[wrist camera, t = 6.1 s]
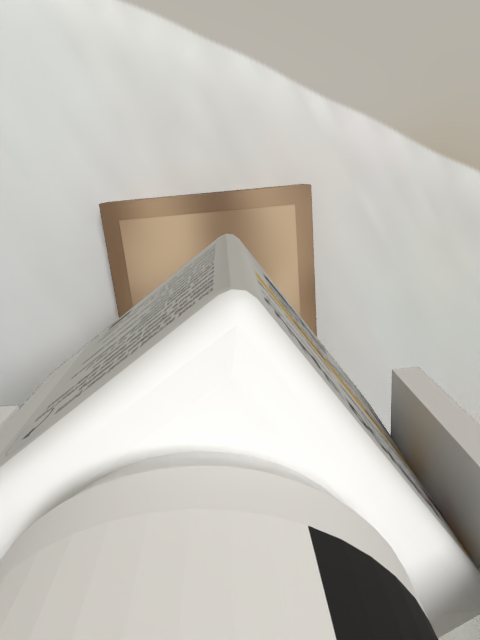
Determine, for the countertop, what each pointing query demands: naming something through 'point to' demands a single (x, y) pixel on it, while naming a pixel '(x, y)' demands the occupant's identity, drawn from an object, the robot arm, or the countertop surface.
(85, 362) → the container
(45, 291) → the countertop surface
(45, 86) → the countertop surface
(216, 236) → the stand
